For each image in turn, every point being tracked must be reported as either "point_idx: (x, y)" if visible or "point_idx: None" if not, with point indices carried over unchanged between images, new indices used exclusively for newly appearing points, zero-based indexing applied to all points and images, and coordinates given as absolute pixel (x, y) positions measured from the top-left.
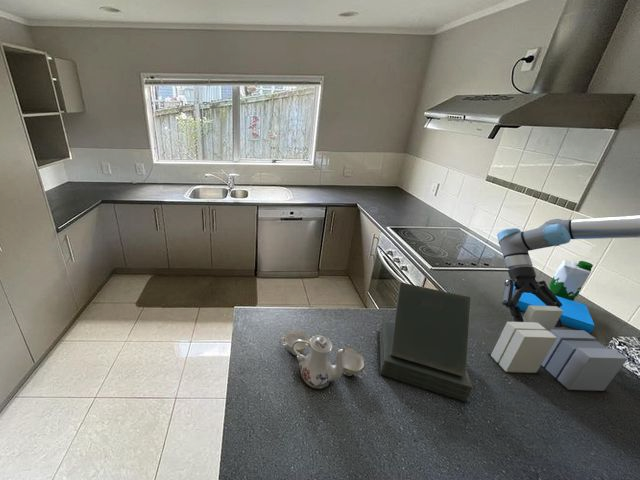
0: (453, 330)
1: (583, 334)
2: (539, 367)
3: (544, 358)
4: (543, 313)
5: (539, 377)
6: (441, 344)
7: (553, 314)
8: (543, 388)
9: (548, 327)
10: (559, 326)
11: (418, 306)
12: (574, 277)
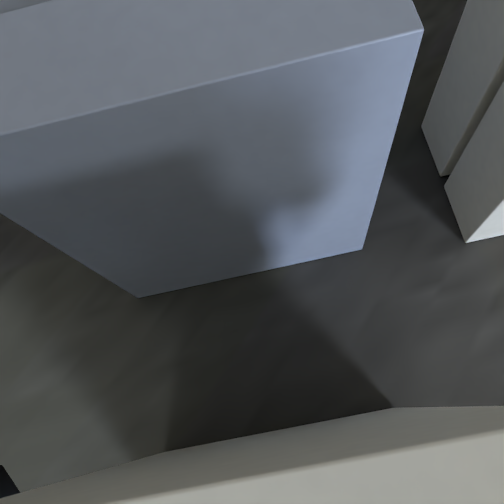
0: None
1: (8, 63)
2: (433, 94)
3: (461, 24)
4: (300, 454)
5: (421, 97)
6: None
7: (57, 495)
8: (442, 31)
9: (145, 463)
10: (8, 480)
11: None
12: None
